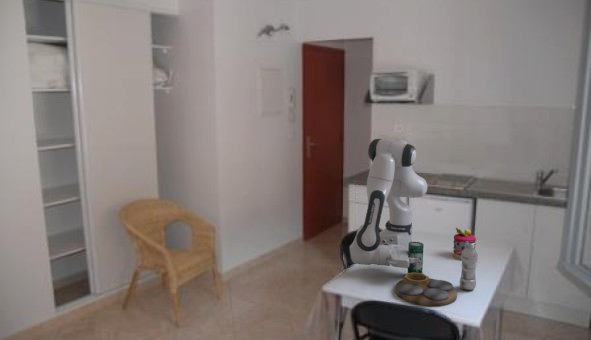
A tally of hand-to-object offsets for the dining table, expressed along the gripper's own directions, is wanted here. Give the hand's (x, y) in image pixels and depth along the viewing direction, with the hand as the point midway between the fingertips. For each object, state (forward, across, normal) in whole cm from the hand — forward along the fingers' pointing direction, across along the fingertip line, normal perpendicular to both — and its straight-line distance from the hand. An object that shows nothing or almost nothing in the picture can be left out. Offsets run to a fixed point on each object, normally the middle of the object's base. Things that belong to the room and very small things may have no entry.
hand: (417, 256), depth 208 cm
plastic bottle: (+19, -11, +9) cm, 24 cm away
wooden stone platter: (+1, -18, +9) cm, 20 cm away
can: (-1, 0, +9) cm, 9 cm away
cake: (+26, +28, +10) cm, 40 cm away
